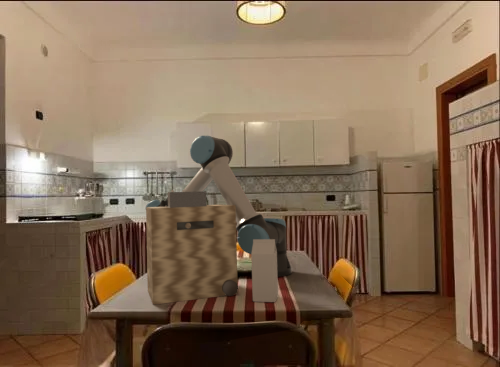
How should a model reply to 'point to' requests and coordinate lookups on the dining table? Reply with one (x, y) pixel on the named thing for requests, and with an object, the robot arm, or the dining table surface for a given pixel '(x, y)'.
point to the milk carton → (264, 270)
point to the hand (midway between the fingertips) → (178, 192)
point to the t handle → (186, 199)
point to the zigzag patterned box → (191, 252)
